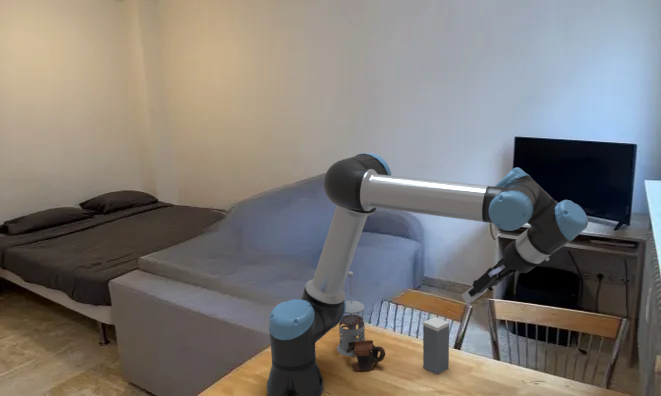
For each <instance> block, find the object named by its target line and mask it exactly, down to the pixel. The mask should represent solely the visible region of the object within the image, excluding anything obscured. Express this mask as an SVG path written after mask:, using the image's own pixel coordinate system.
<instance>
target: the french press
mask: <svg viewBox="0 0 661 396" xmlns="http://www.w3.org/2000/svg"><path fill="white" fill-rule="evenodd" d="M347 277H349V284H350V285H349V286H350V287H349V288H350V292H349V293H350V294H352V281H351V279H352V277H354V272H353V271H350V270H349V271H348V274H347ZM344 301H345V300H344ZM345 302H346V311H345V314H346V315H345V314H344V316H343V318H342V319H341V321H340V322H339V323H338V331H339V345H337V346H336V351H338V352H337V353H339V354H340V355H342V354H343V355H342V356H344V355H346V356H345V357H351V356H353V357H357V355H355V354H354V352H353V350H352V351H351V352H350V353H346V351H347V348H348V347H349V344H348V343H349V342H356V341H364V340H366V331H365V329H366V327H365V322H364V319H365V318H364V310H365V308H366V307H365V304H363V303H362V302H360V301H357V300H346V301H345ZM359 313H361V314H362V316H361V315H360V314H359ZM357 327H358V328H357Z"/></svg>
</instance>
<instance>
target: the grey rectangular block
mask: <svg viewBox="0 0 661 396" xmlns="http://www.w3.org/2000/svg"><path fill="white" fill-rule="evenodd" d="M422 328H423V330H422V333H423V334H422V335H423V337H422V339H423V340H422V345H423V347H422V349H423V350H422V351H423V352H422V353H423V354H422V356H423V357H422V358H423V359H422V361H423V363H422V366H423V368H422V369H424V370H427V371H429V372H430V373H433V374H435V375H437V376H438V375H439V374H441V373H443V372H445V371H446V370H447V371H448V369H450V367H449V366H450V365H449V363H450V361H449V359H450V357H449V355H450V354H449V353H450V322H449V321H447V320H443V319H441V318H439V317H436V316H434V317H432V318H430V319H427V320H425V321H423V323H422Z"/></svg>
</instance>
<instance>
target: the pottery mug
mask: <svg viewBox="0 0 661 396" xmlns="http://www.w3.org/2000/svg"><path fill="white" fill-rule="evenodd" d="M348 344H349V347H348V348H347V351H346V353H350V352H351V351H352V350H353V352H354V354H355V355H357V356H356V359H357V361H356V362H352V364H351V365H352V369H353V371H355V372H357V371H358V372H360V371H372V370H374V365H375V366H377V365H378V364H379V363H380V362H382V361H383V360H384V359H385V357H386V351H385V349H384V347H383V346H376V345H375V344H374V341H373V339H372V340H370V339H365V340H364V341H356V342H349V343H348Z"/></svg>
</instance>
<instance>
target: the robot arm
mask: <svg viewBox="0 0 661 396" xmlns="http://www.w3.org/2000/svg"><path fill="white" fill-rule="evenodd" d="M323 189H324V193H325V194H326V197H327V198H328V199H329V201H331V202H332V203H333V204H334V205H335V206H336V207H335V209H334V212H333V215H332V219H331V222H330V225H329V228H328V232H327V234H326V237H325V241H324V244H323V247H322V251H321V253H320V257H319V260H318V263H317V266H316V270H315V272H314V277H313V278H312V279H310V280H308V281H306V284H305V287H304V289H303V292H302V295H301V298H300V299H298V298H297V299H294V298H293V299H289V300H288V301H282V302H280V303H278V304H277V305H276V306H274V307H273V308H272V310H271V311H270V314H269V323H268V329H269V339H270V352H271V367H270V369H269V376H268V378H267V382H266V392H267V396H321V395H322V394H323V393H324V389H325V387H324V378H323V375H322V373H321V371H320V368H319V365H318V362H317V359H316V343H317V342H318V341H319V340H320V339H321V338H323V337H324V336H325V335H326V334H328V333H329V332H330V330H331V331H332V329H334V328H335V327H337V325H338V326H339V323H340V321H341V319H342V318H343V316H345V314H346V313H345V311H346V302H345V299H346V293H345V292H346V291H345V290H344V289H343V288H344V286H345V283H346V280H347V277H348V276H347V274H348V272H350V268H351V265H352V262H353V260H354V256H355V253H356V250H357V248H358V244H359V242H360V238H361V236H362V233H363V230H364V227H365V224H366V222H367V219H368V216H370V215H373V214H374V213H376V211H377V209H383V210H391V211H399V212H406V213H411V214H412V213H413V214H421V215H430V216H436V217H444V218H451V219H458V220H467V221H474V222H480V223H482V222H483V223H489V224H493V225H494V226H496V227H497V228H498V229H500V230H503V231H509V232H510V231H516V230H519V229H520V228H522V227H523V226H524V225H526V224H528V225H529V226H530V227H528V228H527V229H526V230H524V231H523V232H522V233H521V234H519V235H518V236H517V237H516V238H515V239H514V240H513V241H511V242H510V243H509V244H507V246H505V248H504V250H503V251H504V254H503V255H504V258H501V259H499V261H497V263H496V264H495V265H494V266H493V267H489V268H488V269H487V270H485V273H483V274H482V275H481V276H480V277H479V278H478V279H476V280H473V283H472V284H471V285H472V286H471V287H469V288H468V289H467V290H466V291H465V292H463V293H462V294H461V295H460V296H461V297H462V299H463V301H465V303H466V305H469V304H470V303H473V302H474V301H476V300H477V299H478V298H480V296H482V295H483V294H484V293H486V292H487V291H488V292H492V291H494V289H493V287H496V286H497V285H498V284H500V283H502V281H504V280H505V279H507V278H508V277H510V276H511V275H513V274H515V273H517V272H519V273H521V274H526V273H529V272H531V271H532V270H533V269H535V268H536V267H537V266H538V265H539V264H541V263H542V262H544V261H546V262H549V260H550V256H551V255H553V254H554V253H556V252H557V251H558V250H560V249H561V248H563V247H565V246H566V245H567V244H569V243H570V242H572V241H573V240H575V238H576V237H577V236H579V235H580V234H581V233H582V232H584V231H585V230H586V229H587V228H588V226H589V220H588V216H587V214H586V212H585V211H584V209H583V208H582V207H581V206H580V205H579V204H577V203H575V202H573V201H572V200H570V199H569V200H568V199H564V200H561V201H560V202H558V201H557V200H555V199H554V198H553V197H551V195H550V194H549V193H548V192H547V191H545V190H544V189H543V188H542V187H541V186H540V184H538V182H537V181H535V180H534V179H533V178H532V177H531V175H529V174H528V173H526V172H525V171H524V170H523V169H522V168H520V167H514V168H512V169H511V170H510V171H509V172H508V173H507V174H506V175H505V176H504V177H503V178H502V179H501V180H500V181H498V183H496V185H495V186H489V185H486V184H485V185H483V184H472V183H467V182H466V183H463V182H456V181H455V182H454V181H447V180H446V181H445V180H436V179H435V180H434V179H426V178H417V177H408V176H407V177H406V176H398V175H392V171H391V168H390V167H389V164H388V163H387V161H386V160H385V159H383V158H382V157H381V156H380V155H378V154H376V153H371V152H369V153H368V152H367V153H366V152H362V153H358V154H356V155H354V156H351V157H348V158H344V159H343V158H342V159H341V160H338V161H337V160H336V162H334V163H333V164H331V166H330V167H329V168H328V169H327V171H326V172H325V175H324V178H323Z"/></svg>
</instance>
